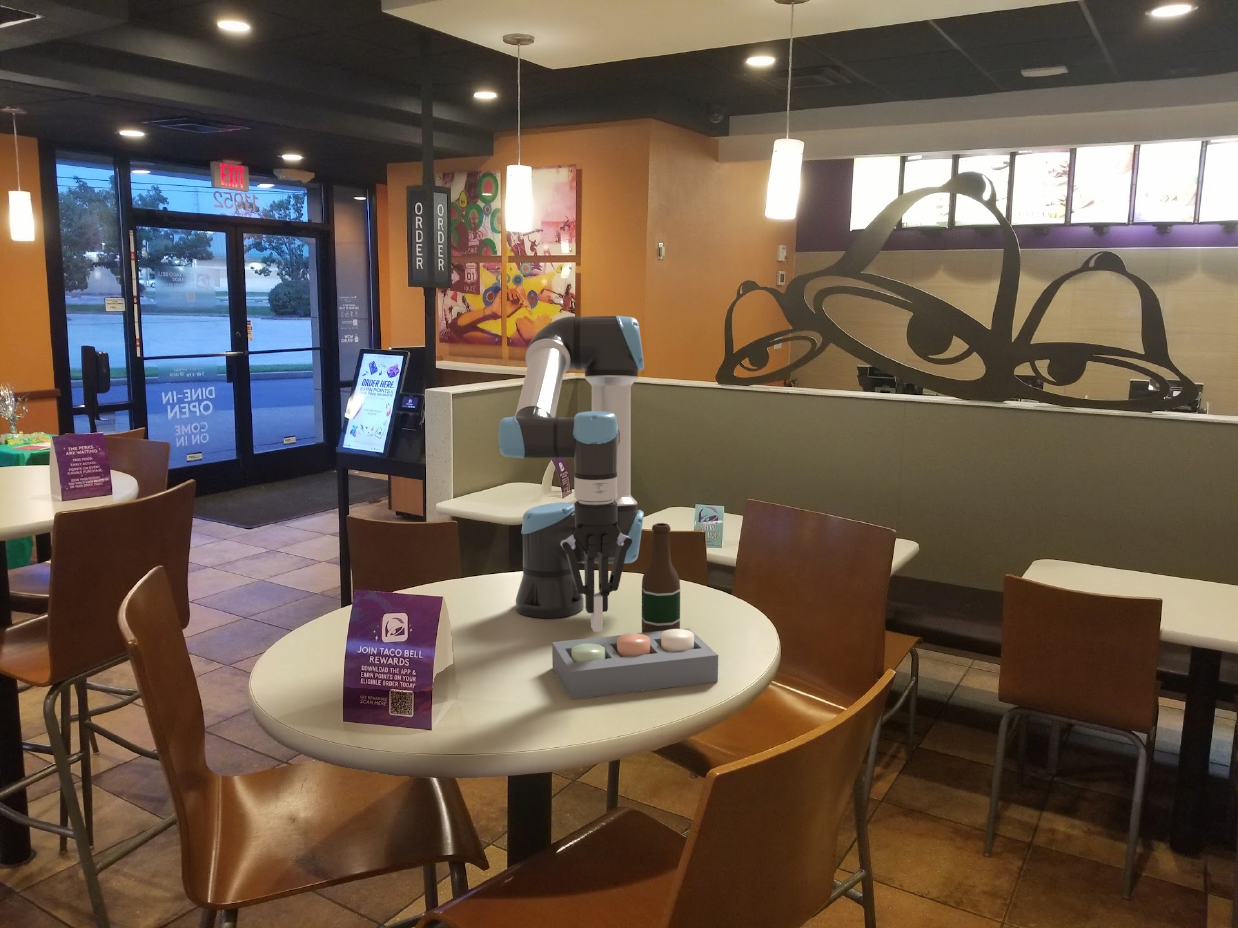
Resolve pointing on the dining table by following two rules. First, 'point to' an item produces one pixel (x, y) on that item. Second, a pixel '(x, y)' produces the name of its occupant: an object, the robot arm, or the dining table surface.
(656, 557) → the beer bottle
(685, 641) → the button cream
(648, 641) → the button terracotta
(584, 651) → the button sage
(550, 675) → the dining table surface
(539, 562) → the robot arm
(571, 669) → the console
